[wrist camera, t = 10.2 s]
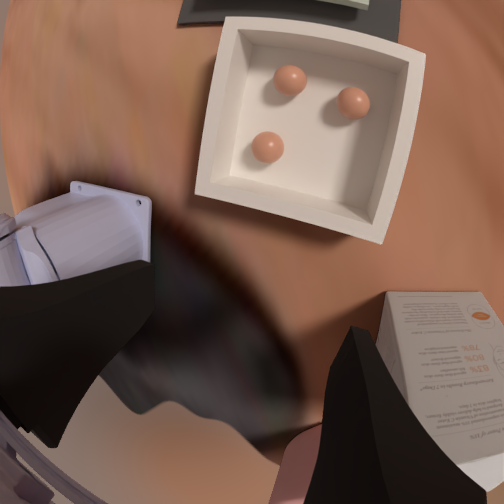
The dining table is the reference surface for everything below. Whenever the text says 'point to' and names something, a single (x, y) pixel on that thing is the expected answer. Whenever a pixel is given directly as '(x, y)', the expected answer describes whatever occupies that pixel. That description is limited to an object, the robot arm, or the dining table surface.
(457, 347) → the small box
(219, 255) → the dining table surface
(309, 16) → the mat
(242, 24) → the shallow white tray
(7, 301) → the robot arm
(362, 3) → the lid
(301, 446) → the cake
